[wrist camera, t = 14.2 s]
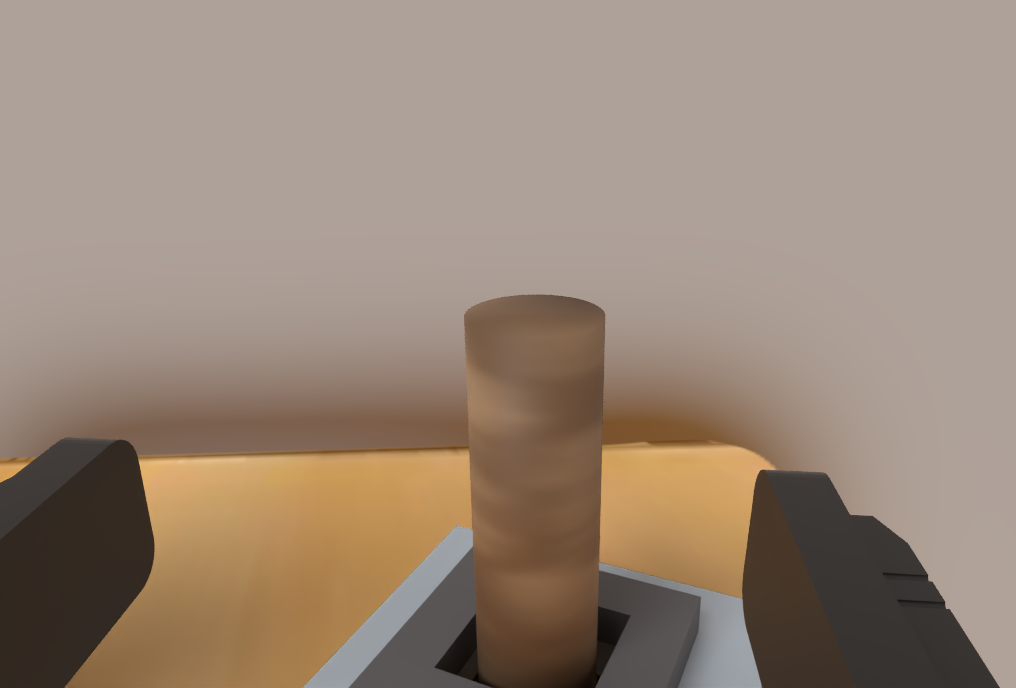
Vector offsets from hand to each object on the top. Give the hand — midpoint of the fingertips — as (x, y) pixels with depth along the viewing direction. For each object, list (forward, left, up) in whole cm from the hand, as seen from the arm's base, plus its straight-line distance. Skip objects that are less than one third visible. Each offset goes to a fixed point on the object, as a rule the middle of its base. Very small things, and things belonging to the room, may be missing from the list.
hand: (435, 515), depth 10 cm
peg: (-4, +12, -16) cm, 21 cm away
